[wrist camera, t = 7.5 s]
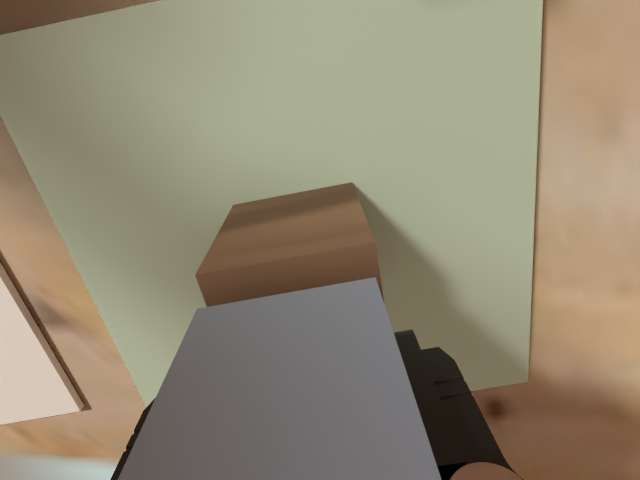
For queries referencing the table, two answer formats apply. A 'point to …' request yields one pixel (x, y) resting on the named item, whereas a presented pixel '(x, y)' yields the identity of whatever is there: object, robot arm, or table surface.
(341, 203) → the brick base
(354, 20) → the build plate
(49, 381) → the page
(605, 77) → the table surface
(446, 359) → the robot arm
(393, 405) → the brick
